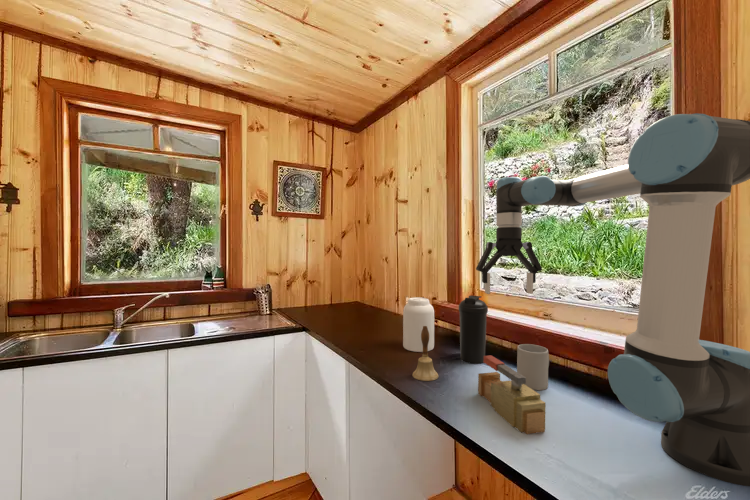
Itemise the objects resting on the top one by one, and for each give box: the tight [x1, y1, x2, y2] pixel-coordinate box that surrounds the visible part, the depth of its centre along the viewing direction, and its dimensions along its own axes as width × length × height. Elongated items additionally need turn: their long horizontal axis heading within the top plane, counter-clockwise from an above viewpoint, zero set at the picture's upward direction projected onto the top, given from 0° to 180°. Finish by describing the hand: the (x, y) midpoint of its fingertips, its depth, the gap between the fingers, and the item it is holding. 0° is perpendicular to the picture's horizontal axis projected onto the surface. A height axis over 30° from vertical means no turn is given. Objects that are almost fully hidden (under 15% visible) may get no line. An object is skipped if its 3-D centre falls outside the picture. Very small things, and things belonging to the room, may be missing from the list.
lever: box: [483, 355, 526, 391], centre depth 86 cm, size 15×2×4 cm, turn 12°
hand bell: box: [411, 326, 439, 382], centre depth 105 cm, size 8×8×16 cm
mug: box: [516, 343, 550, 391], centre depth 100 cm, size 12×8×11 cm
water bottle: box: [458, 295, 489, 365], centre depth 119 cm, size 10×10×23 cm
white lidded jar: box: [402, 297, 435, 353], centre depth 133 cm, size 12×12×20 cm
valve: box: [477, 371, 547, 435], centre depth 84 cm, size 20×7×7 cm, turn 12°
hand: (508, 293), depth 105 cm, fingers open, 13 cm apart
